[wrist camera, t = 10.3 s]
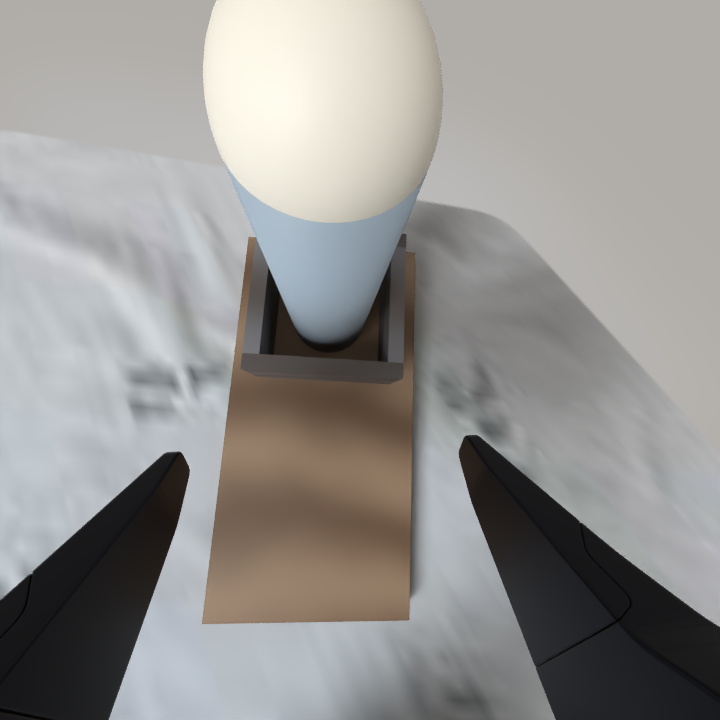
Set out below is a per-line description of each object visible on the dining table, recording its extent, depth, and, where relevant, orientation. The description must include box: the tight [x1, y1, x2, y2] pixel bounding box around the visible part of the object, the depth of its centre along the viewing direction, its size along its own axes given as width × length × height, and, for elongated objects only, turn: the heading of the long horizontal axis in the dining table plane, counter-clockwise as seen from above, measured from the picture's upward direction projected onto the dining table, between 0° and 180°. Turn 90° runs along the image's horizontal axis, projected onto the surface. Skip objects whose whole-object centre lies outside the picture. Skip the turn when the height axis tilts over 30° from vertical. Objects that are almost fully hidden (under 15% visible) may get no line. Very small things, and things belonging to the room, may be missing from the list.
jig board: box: [202, 234, 415, 624], centre depth 16 cm, size 22×11×5 cm, turn 177°
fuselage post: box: [203, 0, 443, 353], centre depth 11 cm, size 4×4×15 cm
